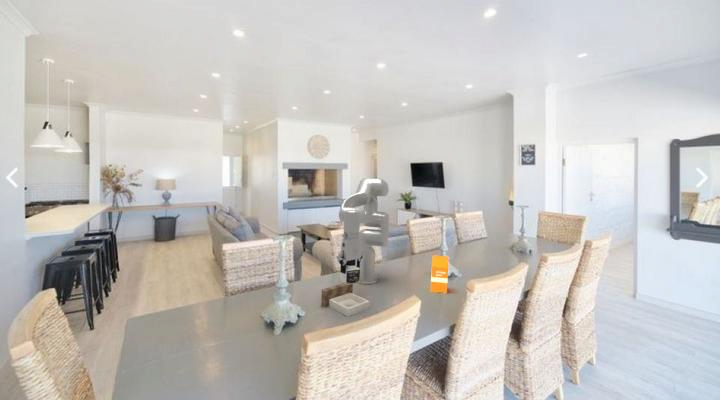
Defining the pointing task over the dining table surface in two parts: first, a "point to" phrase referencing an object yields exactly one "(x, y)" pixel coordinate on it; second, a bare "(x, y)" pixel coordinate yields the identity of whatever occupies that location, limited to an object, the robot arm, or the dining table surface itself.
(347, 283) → the medicine bottle
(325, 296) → the backstop wall
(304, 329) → the dining table surface
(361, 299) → the white square tray
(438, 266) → the orange juice
